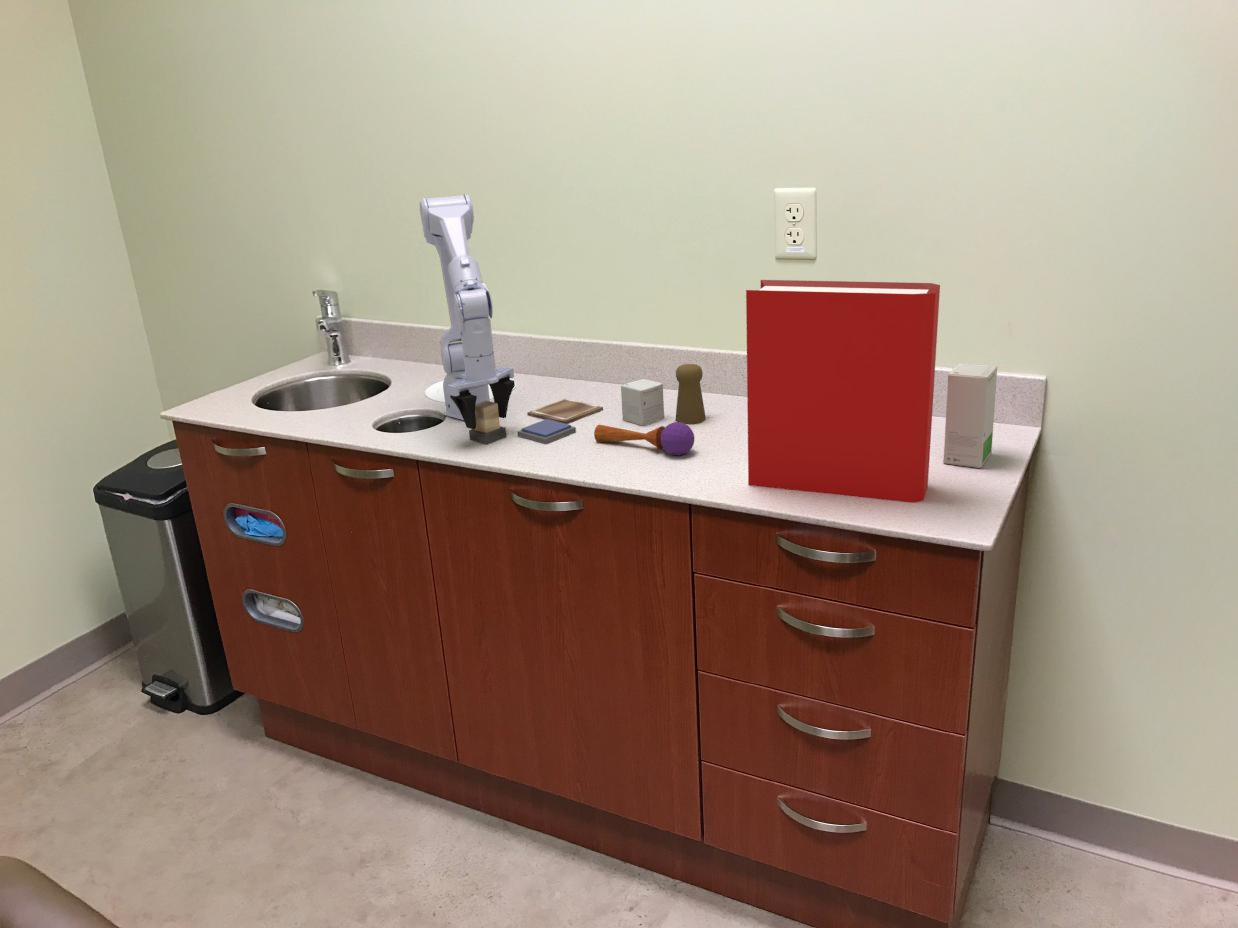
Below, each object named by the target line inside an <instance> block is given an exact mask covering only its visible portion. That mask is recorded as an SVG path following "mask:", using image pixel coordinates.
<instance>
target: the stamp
mask: <svg viewBox="0 0 1238 928" xmlns="http://www.w3.org/2000/svg"><path fill="white" fill-rule="evenodd" d="M475 417H476V428H475V429H469V430H468V433H469V440H470V441H473V442H476V443H479V444H483V445H486V446H489V445H490V444H493V443H496V442H498V441H501V440H503V439H506V438H507V437H508V436H507V429H506V427H504V426H502V425H500V424H501V422H500V417H499V413H498V404H497V403H494V401H491V400H490V401H486V400H485V401H482V402H480V403H477V404H475Z"/></svg>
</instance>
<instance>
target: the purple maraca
mask: <svg viewBox="0 0 1238 928" xmlns="http://www.w3.org/2000/svg"><path fill="white" fill-rule="evenodd" d="M593 434H594V435H593V437H594V439H595V441H596V442H597V443H605V442H625V441H647V442H648V443H650V444H651V445H653V447H656V448H657V449H658V450H664V451H665V452H666V453H668V454H670V455H671V456H683V455H685V454H688V453H689V452H690V451H691V449H692V448H693V446H694V444H695V434H694V431H693V429H692V428H691V426H689V424H684V423H681V422H676V421H673V422H671V423H669V424H667V425H666V426H664V425H663V426H662V425H661V426H659V427H656V428H655V429H652V430H651V431H649V432H646V433H644V432H638V431H633V430H628V429H626V428H625V429H624V428H618V427H614V426H609V425H604V424H597V425H596V426H595V428H594V432H593Z"/></svg>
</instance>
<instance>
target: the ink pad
mask: <svg viewBox="0 0 1238 928" xmlns="http://www.w3.org/2000/svg"><path fill="white" fill-rule="evenodd" d="M576 432H577V428H576V426H572V424H570V423H568V424H565V423H561V422H557V421H553V420H549V419H542V420H541V421H538V422H535V423H532V424H530V425H528V426H525V427H522V428H521V429H520V430H518V431H517V433H516V434H517V437H518V438H519V437H520V438H523V439H527V440H528V441H529V440H530V441H533V442H536V443H540V444H544V445H548V444H551V443H553V442H556V441H557V440H560V439H562V438H565V437H567V436H570V435H573V434H575V433H576Z"/></svg>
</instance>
